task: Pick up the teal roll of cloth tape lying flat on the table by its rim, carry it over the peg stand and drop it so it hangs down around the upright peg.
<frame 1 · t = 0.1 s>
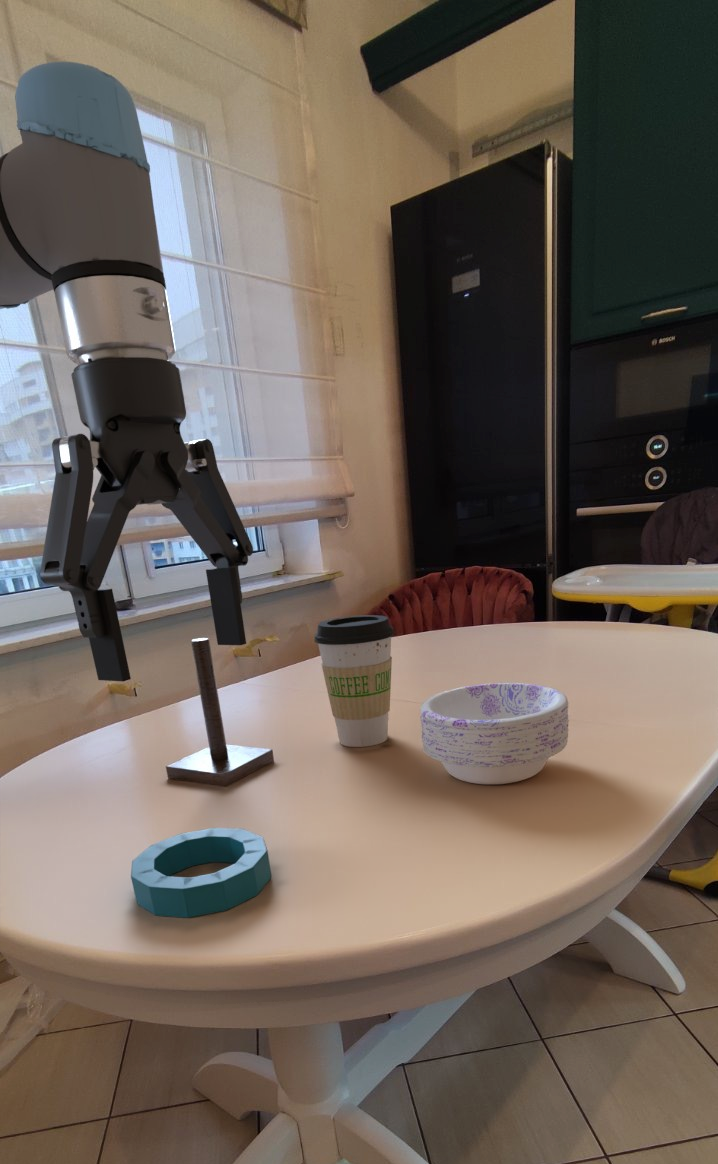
hand: (178, 661, 59), 17 cm above the table, tool pointing down, fingers open, 13 cm apart
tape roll: (204, 882, 60), on the table
coffee cup: (363, 740, 93), on the table
paper bowls: (494, 772, 78), on the table
peg stand: (221, 769, 87), on the table
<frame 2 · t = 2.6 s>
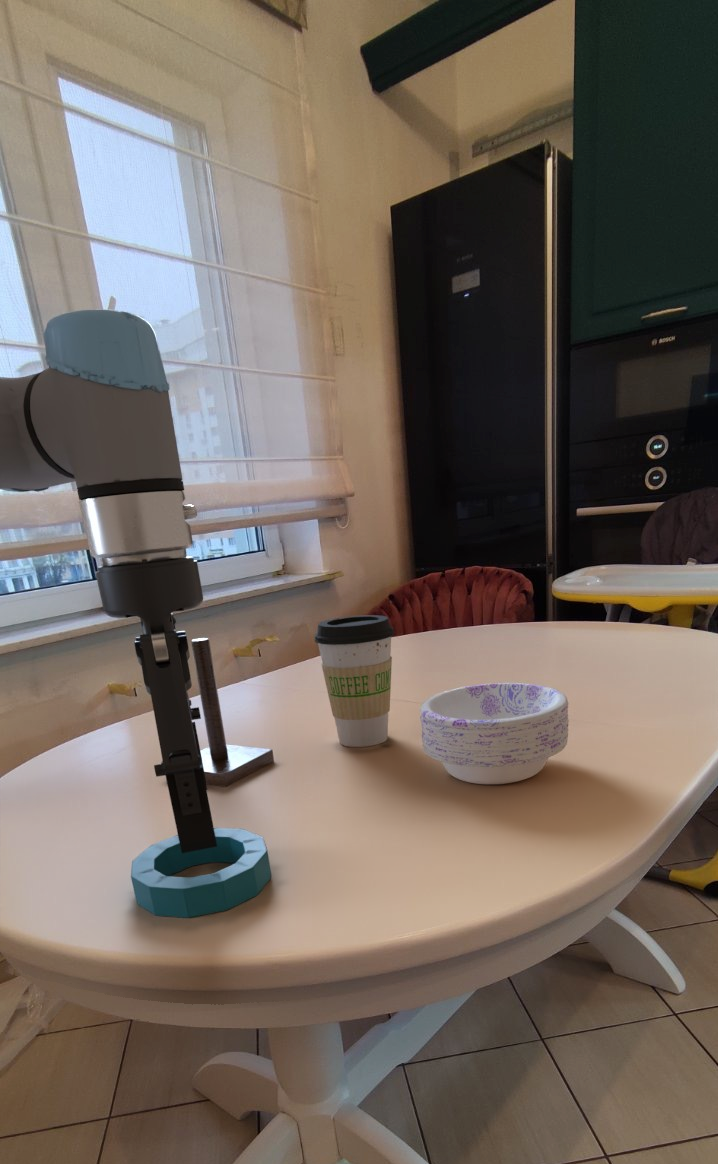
hand: (195, 817, 62), 4 cm above the table, tool pointing down, fingers open, 13 cm apart
nothing on the table moved.
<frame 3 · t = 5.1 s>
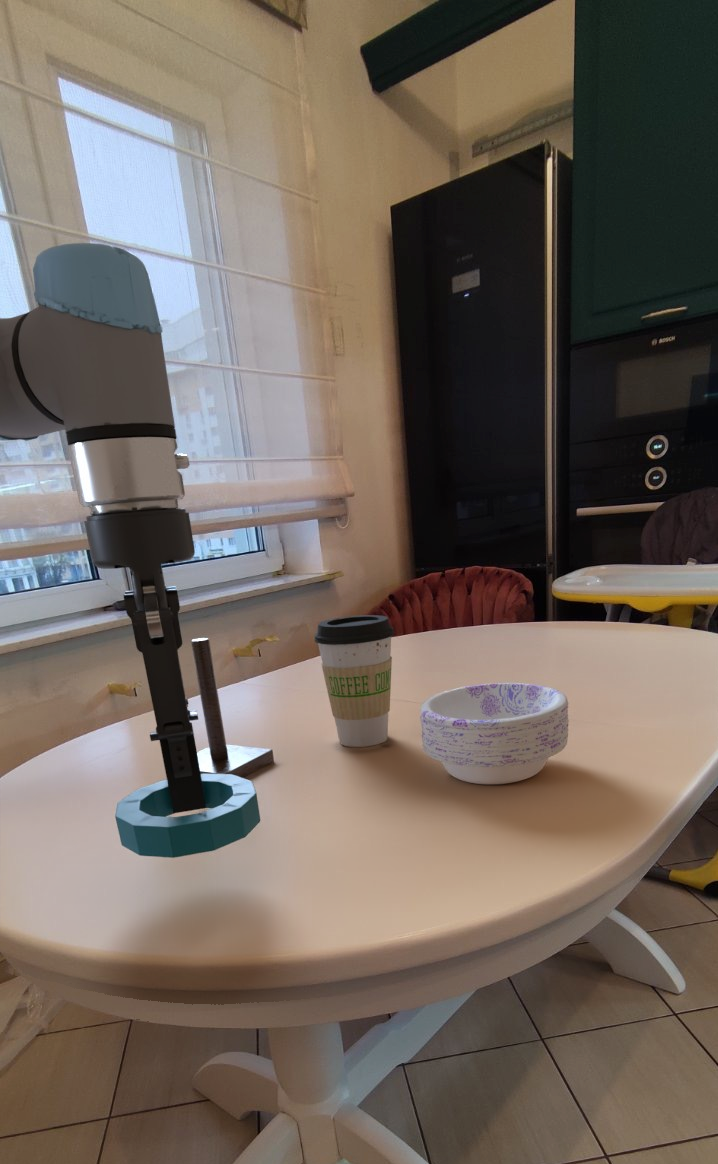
hand: (189, 802, 62), 5 cm above the table, tool pointing down, fingers closed on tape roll, 2 cm apart
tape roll: (191, 826, 58), point 5 cm above the table, touching gripper
everything else where it was.
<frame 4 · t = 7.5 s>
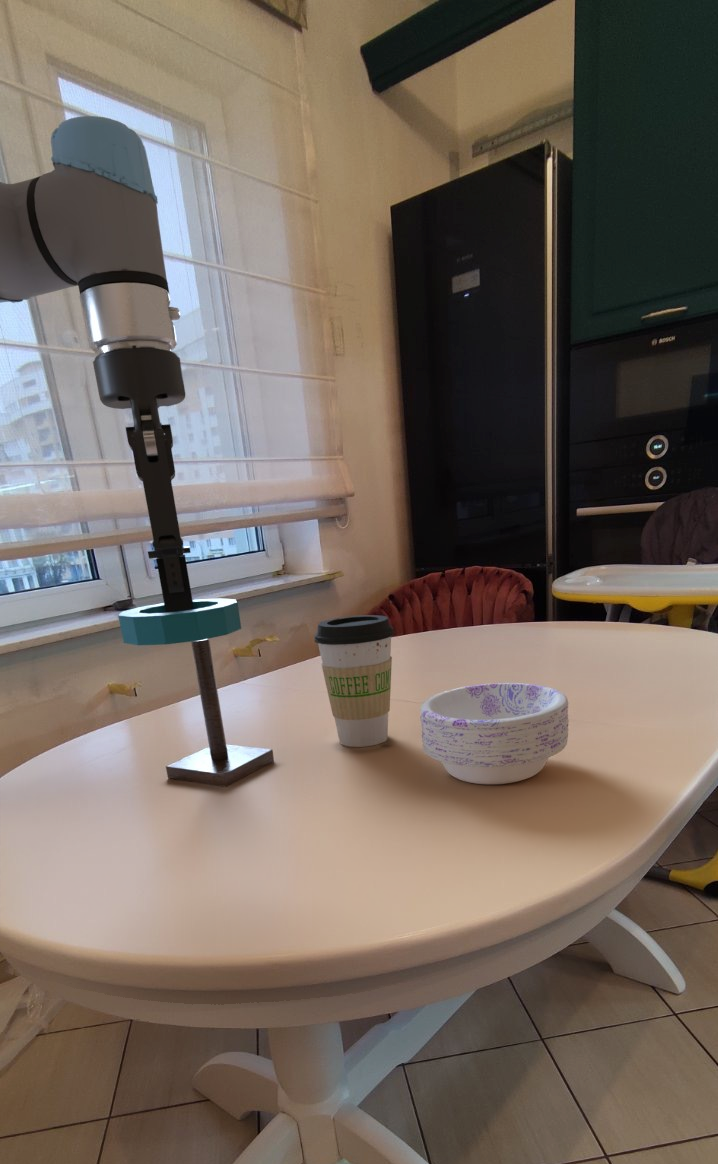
hand: (182, 624, 73), 18 cm above the table, tool pointing down, fingers closed on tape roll, 2 cm apart
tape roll: (183, 633, 69), point 18 cm above the table, touching gripper
everything else where it was.
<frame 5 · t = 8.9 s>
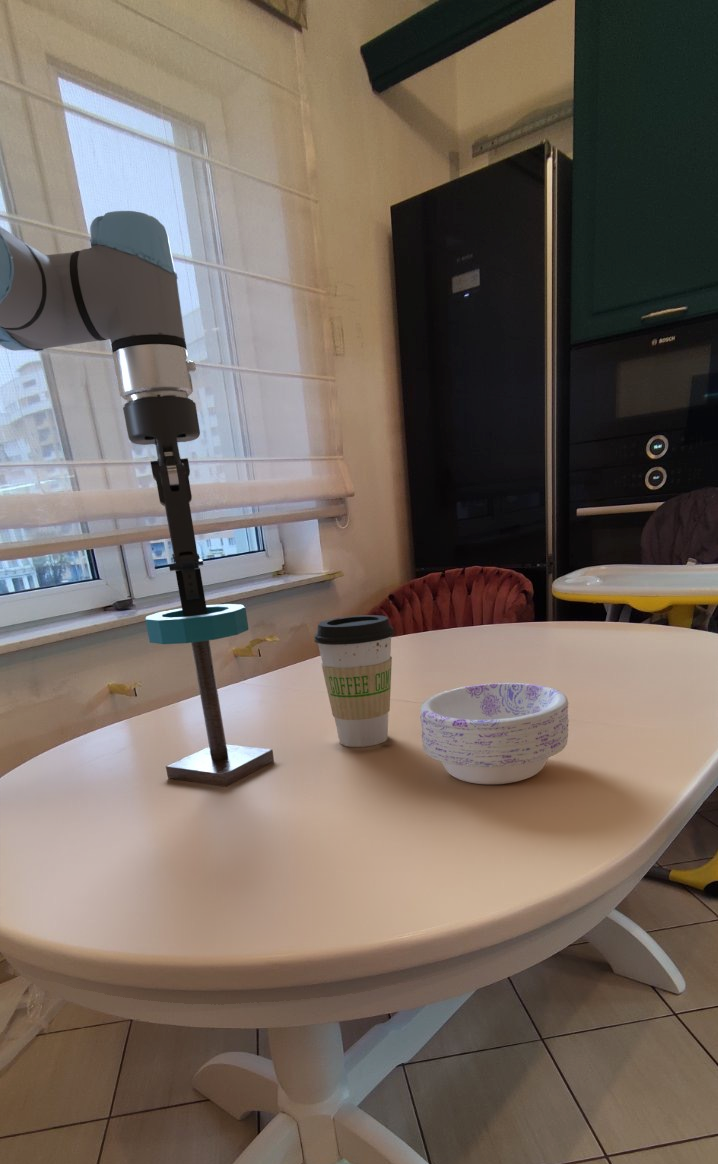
hand: (197, 626, 85), 16 cm above the table, tool pointing down, fingers closed on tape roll, 2 cm apart
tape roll: (199, 634, 81), point 16 cm above the table, touching gripper
everything else where it was.
when the fingers open (13 cm above the table, at t = 10.2 s): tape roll drops 11 cm, resting on peg stand.
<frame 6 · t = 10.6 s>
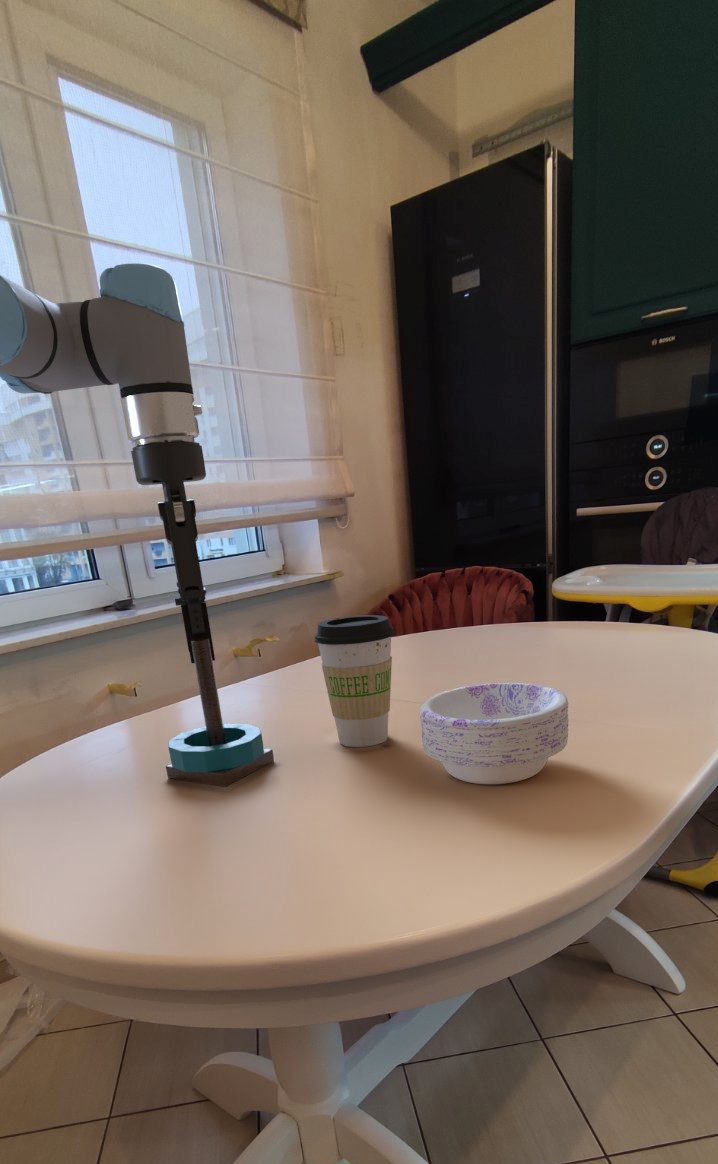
hand: (201, 655, 87), 13 cm above the table, tool pointing down, fingers open, 7 cm apart
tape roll: (218, 756, 87), point 1 cm above the table, touching peg stand
everything else where it was.
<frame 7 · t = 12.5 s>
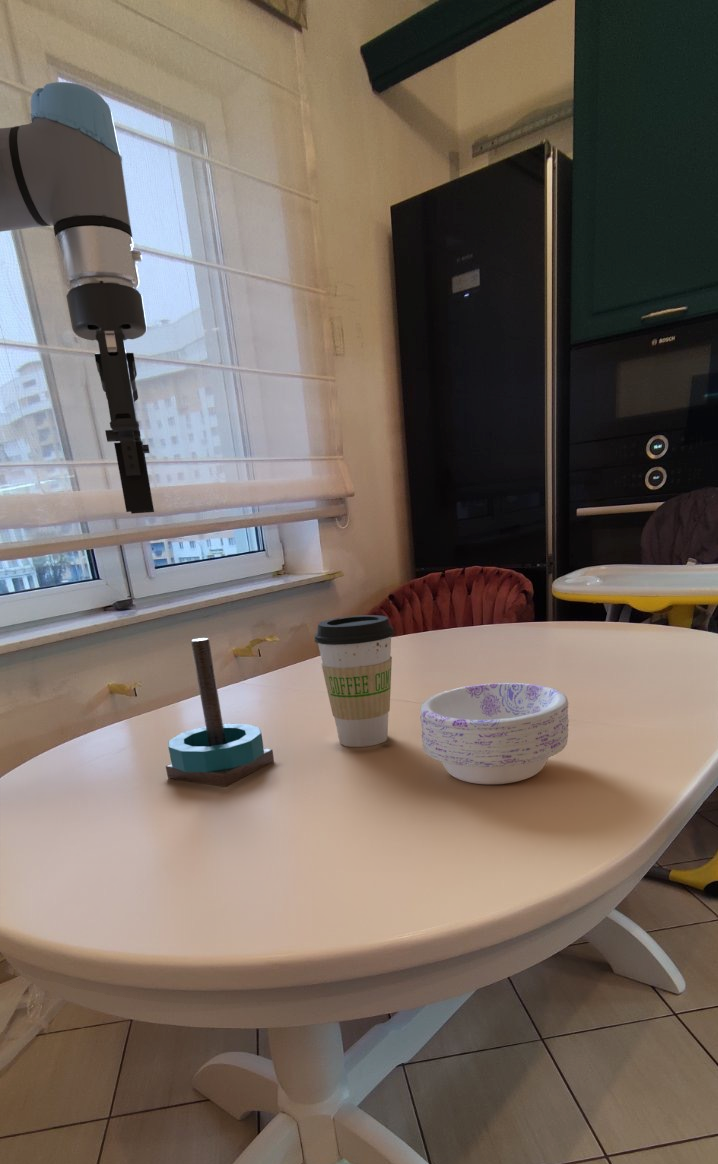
hand: (141, 512, 82), 29 cm above the table, tool pointing down, fingers open, 13 cm apart
nothing on the table moved.
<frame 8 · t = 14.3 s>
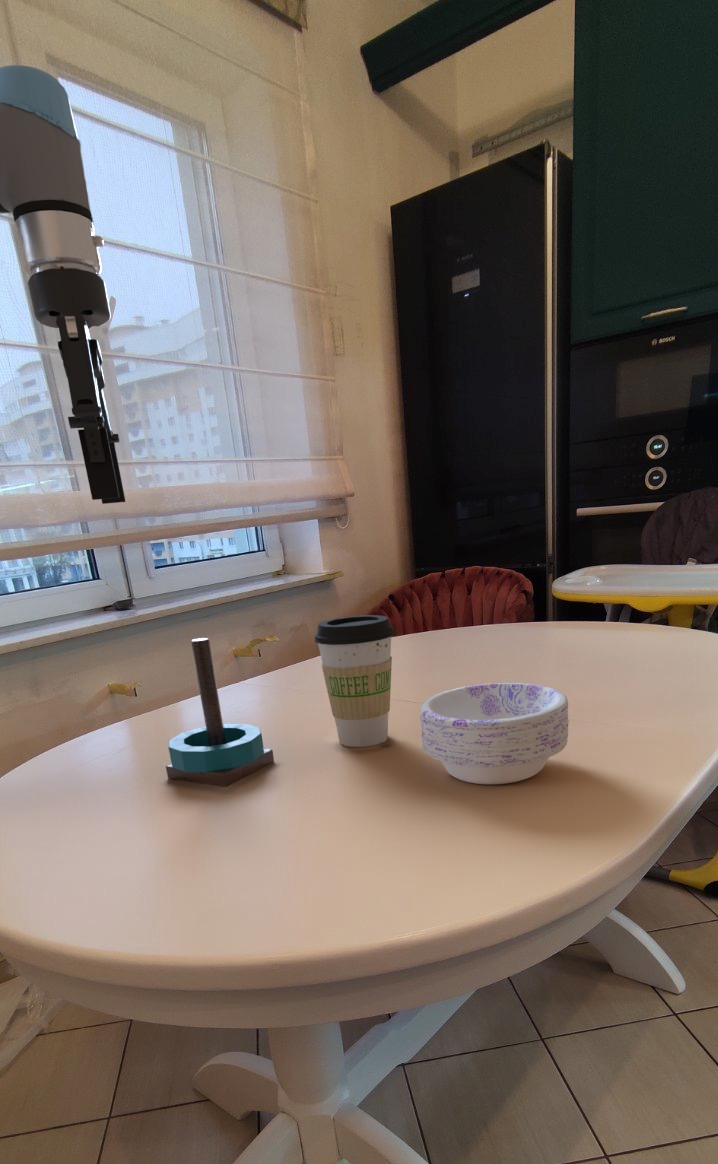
hand: (110, 501, 82), 31 cm above the table, tool pointing down, fingers open, 13 cm apart
nothing on the table moved.
at the end: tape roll 0.5 cm from the peg stand (horizontally); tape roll point 1.5 cm above the table; the gripper is holding nothing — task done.
